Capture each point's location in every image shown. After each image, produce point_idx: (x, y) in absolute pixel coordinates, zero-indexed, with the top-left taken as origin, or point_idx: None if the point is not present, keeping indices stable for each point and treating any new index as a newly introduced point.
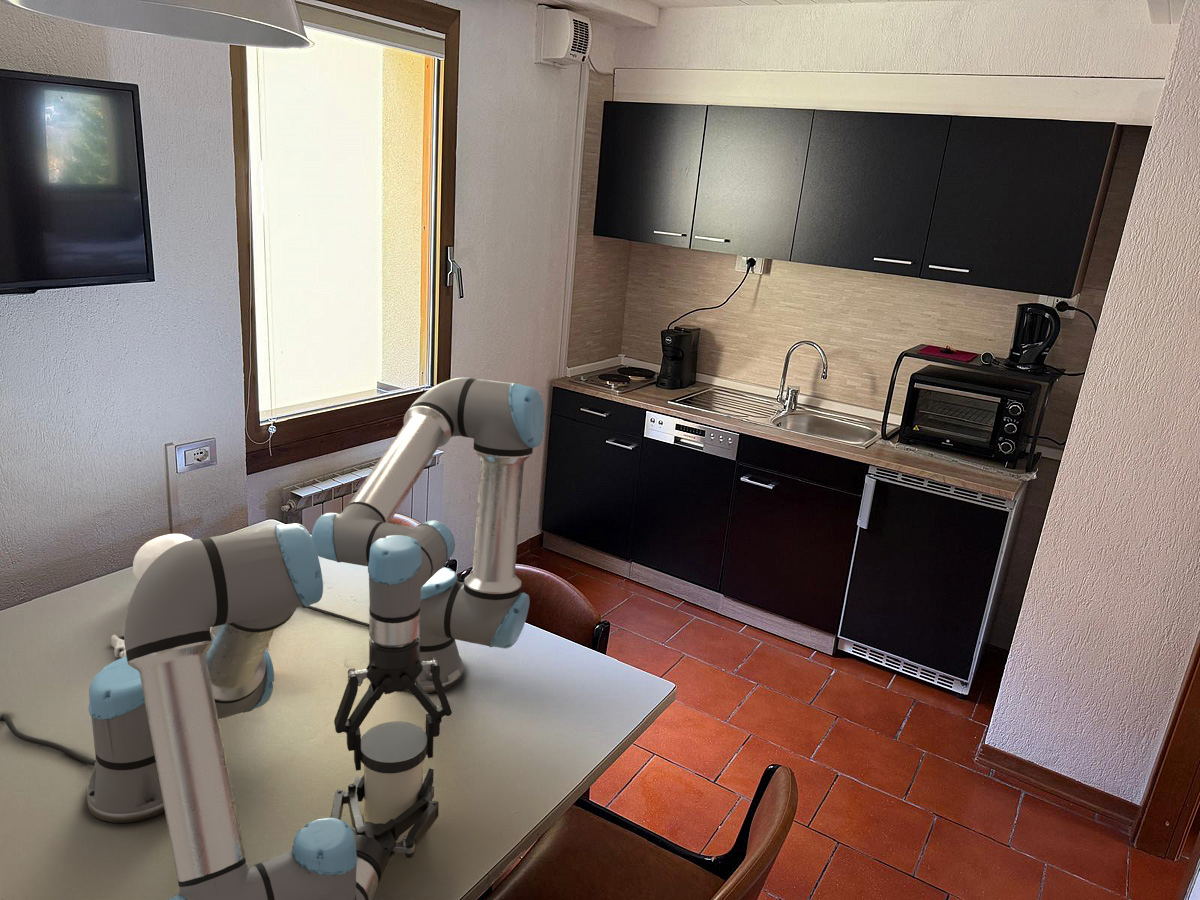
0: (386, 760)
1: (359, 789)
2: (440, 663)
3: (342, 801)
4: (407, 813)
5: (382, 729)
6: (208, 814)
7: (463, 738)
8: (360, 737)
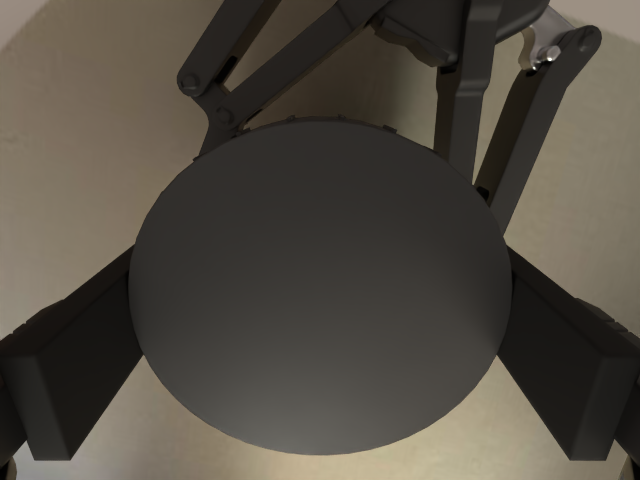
0: (395, 160)
1: None
2: None
3: None
4: (295, 54)
5: (361, 415)
6: None
7: (136, 402)
8: (588, 337)
